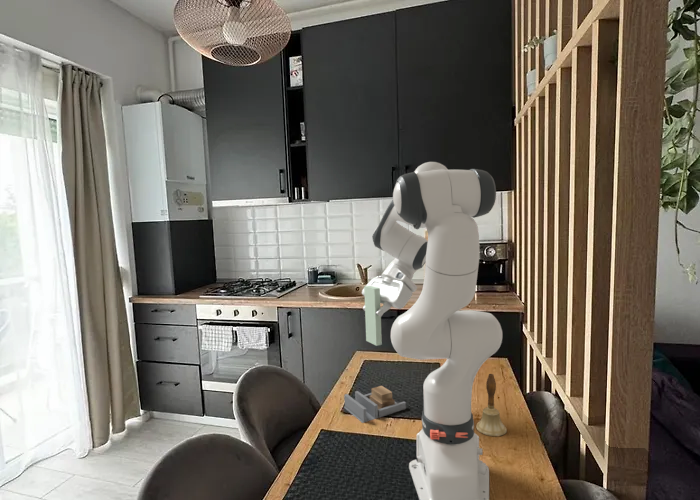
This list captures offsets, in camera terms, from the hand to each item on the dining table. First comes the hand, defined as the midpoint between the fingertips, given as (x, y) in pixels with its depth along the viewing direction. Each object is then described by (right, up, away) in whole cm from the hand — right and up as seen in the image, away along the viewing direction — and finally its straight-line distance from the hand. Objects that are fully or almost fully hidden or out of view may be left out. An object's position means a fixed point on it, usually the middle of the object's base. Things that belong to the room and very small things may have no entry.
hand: (371, 312), depth 127 cm
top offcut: (+4, -28, +2) cm, 28 cm away
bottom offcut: (+4, -30, +3) cm, 31 cm away
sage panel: (+1, -10, +1) cm, 10 cm away
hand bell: (+34, -32, -12) cm, 48 cm away
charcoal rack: (+1, -32, +1) cm, 32 cm away
